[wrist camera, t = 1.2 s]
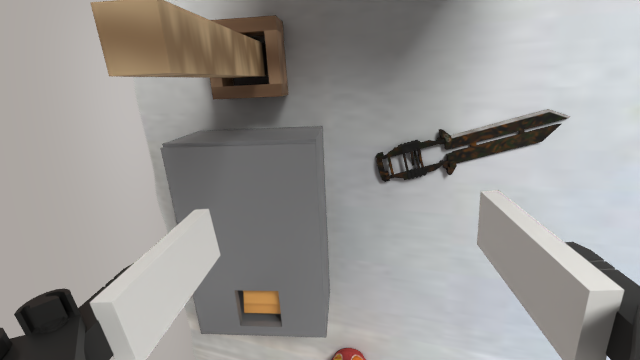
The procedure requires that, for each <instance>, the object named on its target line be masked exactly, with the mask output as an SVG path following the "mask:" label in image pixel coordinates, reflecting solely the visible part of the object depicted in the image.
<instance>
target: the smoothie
mask: <svg viewBox="0 0 640 360" xmlns="http://www.w3.org/2000/svg"><path fill="white" fill-rule="evenodd" d="M332 360H366V359H365V358H364V356H363V354H362V353H361V352H360V351H358V350H356V349H352V348H344V349H341V350H339V351H338V352H337V353H336V354H335V356H334V357H333V359H332Z"/></svg>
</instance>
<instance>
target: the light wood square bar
mask: <svg viewBox="0 0 640 360" xmlns="http://www.w3.org/2000/svg"><path fill="white" fill-rule="evenodd" d="M91 6H92V11H93V14H94V19H95V23H96V26H97V30H98V34H99V38H100V42H101V46H102V50H103V54H104V58H105V62H106V65H107V69H108V73H109V76H124V77H208V78H247V77H266V76H269V75H268V65H267V54H266V44H264V43H261V42H259V41H257V40H255V39H252V38H250V37H248V36H245V35H243V34H241V33H238V32H236V31H234V30H231V29H229V28H227V27H224V26H222V25H220V24H217V23H215V22H213V21H210V20H208V19H206V18H203V17H201V16H199V15H196V14H194V13H192V12H190V11H187V10H185V9H183V8H180V7H178V6H176V5H173V4H171V3H169V2H166V1H164V0H116V1H103V2H92V3H91Z"/></svg>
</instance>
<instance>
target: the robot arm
mask: <svg viewBox="0 0 640 360" xmlns="http://www.w3.org/2000/svg"><path fill="white" fill-rule="evenodd" d="M477 245H478V246H479V247H480V249H481V250H482V251H483V253H484V254H485V255H486V257H487V258H488V260H489V261H490V262H491V264H492V265H493V266H494V268H495V269H496V270H497V272H498V273H499V274H500V276H501V277H502V278H503V280H504V281H505V283H506V284H507V285H508V287H509V288H510V289H511V291H512V292H513V293H514V295H515V296H516V297H517V299H518V300H519V301H520V303H521V304H522V306H523V307H524V308H525V310H526V311H527V312H528V314H529V315H530V316H531V318H532V319H533V320H534V322H535V323H536V324H537V326H538V327H539V329H540V330H541V331H542V333H543V334H544V335H545V337H546V338H547V339H548V341H549V342H550V343H551V345H552V346H553V347H554V349H555V350H556V352H557V353H558V354H559V356H560V357H561V358H562V360H606V357H607V356H608V357H609V358H610V359H611V360H640V286H639V285H637V284H636V283H635V282H633V281H632V280H631V279H629V278H628V277H627V276H625V275H624V274H622V273H621V272H620V271H618V270H615V268H614V267H613V266H612V265H610V264H609V263H608V262H606V261H605V262H604V260H603V259H602V258H601V257H599V256H598V255H597V254H595V253H594V252H593V251H591V250H590V249H587V248H585V247H583V246H581V245H578V244H576V243H574V242H563V241H562V240H561V239H559V238H558V237H557V236H556V235H554V234H553V233H552V232H551V231H549V230H548V229H547V228H546V227H544V226H543V225H542V224H541V223H539V222H538V221H537V220H535V219H534V218H533V217H532V216H530V215H529V214H528V213H527V212H525V211H524V210H523V209H522V208H520V207H519V206H518V205H517V204H515V203H514V202H513V201H512V200H510V199H509V198H508V197H507V196H505V195H504V194H503V193H501V192H500V191H499V190H495V191H481V194H480V209H479V223H478V237H477ZM219 257H220V251H219V247H218V243H217V239H216V235H215V231H214V227H213V223H212V219H211V216H210V212H209V209H197V210H194V211H193V212H191V213H190V214H189V215H188V216H187V217H186V218H185V219H184V220H182V221H181V222H180V223H179V224H178V225H177V226H176V227H175V228H173V229H172V230H171V231H170V232H169V233H168V234H167V235H165V236H164V237H163V238H162V239H161V240H160V241H159V242H158V243H156V244H155V245H154V246H153V247H152V248H151V249H150V250H148V251H147V252H146V253H145V254H144V255H143V256H142V257H141V258H139V259H138V260H137V261H136V262H135V263H133V264H132V265H130V266H128V267H126V268H125V269H123V270H122V271H121V272H120V273H119V274H117V275H116V276H115V277H114V279H112V280H110V281H109V282H108V283H107V284H106V286H105V287H102V288H101V289H100V290H99V291H98V292H97V293H95V294H94V295H93V296H92V297H91V298H90V299H89V300H87V301H86V302H85V303H84V304H83V305H82V306H80V307H79V308H78V307H77V305H76V303H75V301H74V299H73V297H72V295H71V292H70V290H68V289H56V290H53V291H50V292H46V293H44V294H42V295H39V296H37V297H35V298H33V299H32V300H30V301H28V302H26V303H25V304H24V305H23V306H21V307H20V308H19V309H18V310H17V311H16V313H15V314H14V315H15V317H16V318H17V320H18V322H19V324H20V325H21V327H22V329H23V331H24V333H25V335H24V336H19V337H15V338H11V339H9V338H8V336H7V334H6V333H5V331H4V329H3V328H0V360H109V359H110V358H111V357H112V356H113V357H114V359H115V360H147V358H148V357H149V355H150V354H151V352H152V351H153V350H154V348H155V347H156V345H157V344H158V343H159V341H160V340H161V338H162V337H163V336H164V334H165V333H166V331H167V330H168V329H169V327H170V326H171V324H172V323H173V321H174V320H175V319H176V317H177V316H178V314H179V313H180V312H181V310H182V309H183V307H184V306H185V305H186V303H187V302H188V300H189V299H190V298H191V296H192V295H193V293H194V292H195V290H196V289H197V288H198V286H199V285H200V283H201V282H202V281H203V279H204V278H205V276H206V275H207V274H208V272H209V271H210V269H211V268H212V266H213V265H214V264H215V262H216V261H217V259H218V258H219Z"/></svg>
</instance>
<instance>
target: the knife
mask: <svg viewBox="0 0 640 360" xmlns="http://www.w3.org/2000/svg"><path fill="white" fill-rule="evenodd" d="M569 117H570V116H567V115H564V114H561V113H558V112H555V111H552V110H549V109H547V110H543V111H540V112H536V113H532V114H529V115H525V116H521V117H518V118H514V119H510V120H507V121H503V122H499V123H495V124H492V125H488V126H484V127H481V128H477V129H473V130H470V131H466V132H462V133H459V134H455V135H449V134H448V133H446V132H445V131H444V130H442V129H440V130H439V133H440V137H439V138H438V140H436V141H431V140H428V141H424V142H420V141H418V140H415V141H411V142H407V143H404V144H400V145H398V147H395V148H394V149H393V150H392V151H390V152H389V153H388V154H387V155H384V154H383V152H381V153H378V154H377V155H376V158H377V165H378V169H379V173H380V176H381V178H382V180H383V181H385V182H386V181H390V178H394V177H396V178H403V179H404V180H407V179H410V178H412V179H413V178H414V177H416V178H417V177H418V176H420V177H421V176H422V175H424V176H425V175H426V174H427V172H431V171H435V170H436V169H438V168H439V167H441V166H442V165H443V167H444V168H446V170H447V173H448V174H449V175H452V173H453V171H454V170H455V168H456V166H457V165H456V163H460V162H464V161H468V160H471V159H475V158H479V157H483V156H487V155H491V154H495V153H499V152H503V151H507V150H511V149H515V148H519V147H523V146H527V145H530V144H534V143H538V142H542V141H543V140H544V139H545V138H546V137H548V136H549V135H550V134H551V133H552V132H553V131H554V130H555V129H556V128H557V127H559V126H560V125H561V124H562V123H561V124H555V125H551V126H548V127H544V128H540V129H536V130H532V131H529V132H525V133H524V129H528V128H532V127H536V126H539V125H543V124H547V123H551V122H555V121H558V120H562V119H566V118H569ZM517 131H519V134H517V135H513V136H509V137H506V138H502V139H498V140H494V141H490V142H486V143H483V144H479V145H476V142H479V141H483V140H486V139H490V138H494V137H498V136H502V135H505V134H509V133H513V132H517ZM437 144H444V146H445V149H446V150H447V149H451V148H456V147H460V146H464V145H467V144H470V147H467V148H464V149H460V150H456V151H452V153H448V154H446V157H447V160H445V161H443V160H441V161H440V163H437V164H433V165H429V166H425V167H424V165H423V162H422V157H421V150H420V149H422V148H426V147H430V146H433V145H437ZM416 150H417V152H418V156H419V161H420V163H421V168H420V166H419V162H418V159H417V155H416ZM409 152H410V154H411V160H412V165H414V158H413V152H414V156H415V160H416V163H417V167H418V168H417V169H416V168H415V169H413V170H412V169H411V170H408V166H407V161H406V157H405V153H409ZM400 154H403V158H404V162H405V167H406V171H405V172H402V173H398V174H394V172H393V168H392V164H391V159H390V157H392V156H396V155H400ZM385 158H388V162H389V166H390V170H391V174H392V175H390V176H389V174H388V171H385V169H384V165H383V162H382V159H385Z"/></svg>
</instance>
